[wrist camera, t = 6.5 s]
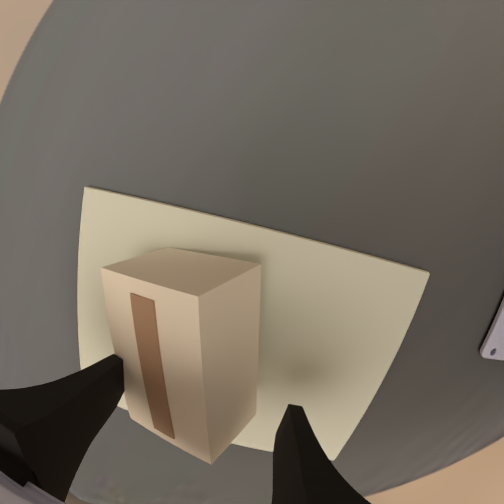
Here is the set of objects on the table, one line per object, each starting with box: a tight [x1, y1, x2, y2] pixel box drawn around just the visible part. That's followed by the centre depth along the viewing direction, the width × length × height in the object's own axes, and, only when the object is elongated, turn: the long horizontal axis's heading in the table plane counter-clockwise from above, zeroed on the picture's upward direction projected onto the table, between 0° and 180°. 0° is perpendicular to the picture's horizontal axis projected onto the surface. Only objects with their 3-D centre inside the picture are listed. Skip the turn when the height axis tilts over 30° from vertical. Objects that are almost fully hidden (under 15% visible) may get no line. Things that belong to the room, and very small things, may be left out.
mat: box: [77, 186, 430, 460], centre depth 16 cm, size 18×14×1 cm
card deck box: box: [101, 247, 261, 464], centre depth 13 cm, size 8×5×4 cm, turn 179°
